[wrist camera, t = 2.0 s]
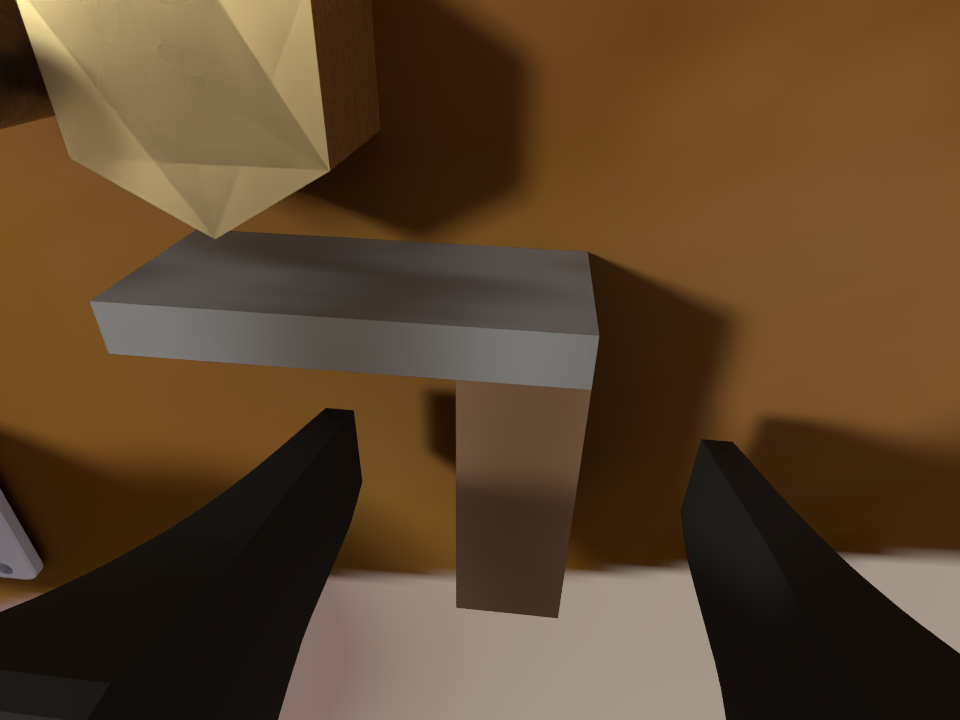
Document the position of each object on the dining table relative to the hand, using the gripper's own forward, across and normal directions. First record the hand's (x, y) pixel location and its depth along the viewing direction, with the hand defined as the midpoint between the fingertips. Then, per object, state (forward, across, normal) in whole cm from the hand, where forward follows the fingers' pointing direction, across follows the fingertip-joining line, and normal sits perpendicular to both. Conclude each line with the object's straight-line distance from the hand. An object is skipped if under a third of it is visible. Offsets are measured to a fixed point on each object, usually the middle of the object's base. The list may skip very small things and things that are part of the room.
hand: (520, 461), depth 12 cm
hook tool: (+2, +3, -1) cm, 4 cm away
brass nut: (+2, +5, -7) cm, 9 cm away
